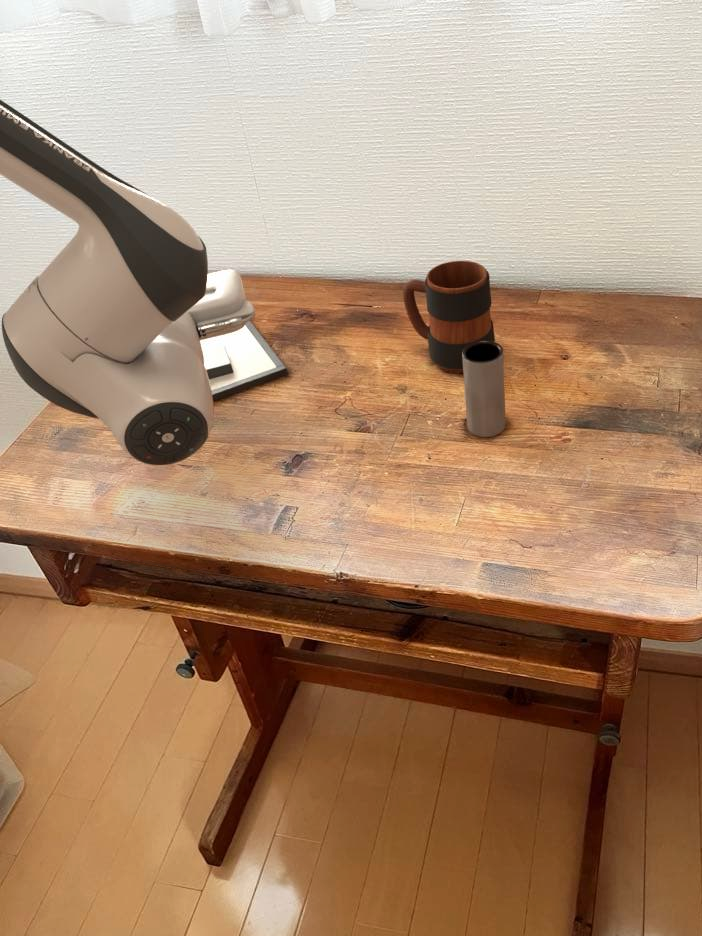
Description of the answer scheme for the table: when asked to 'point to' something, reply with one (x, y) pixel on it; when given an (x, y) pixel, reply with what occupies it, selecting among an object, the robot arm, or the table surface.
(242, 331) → the board
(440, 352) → the mug
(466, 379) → the planter
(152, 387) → the robot arm
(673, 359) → the table surface
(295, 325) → the table surface
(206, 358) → the t-shaped stand
